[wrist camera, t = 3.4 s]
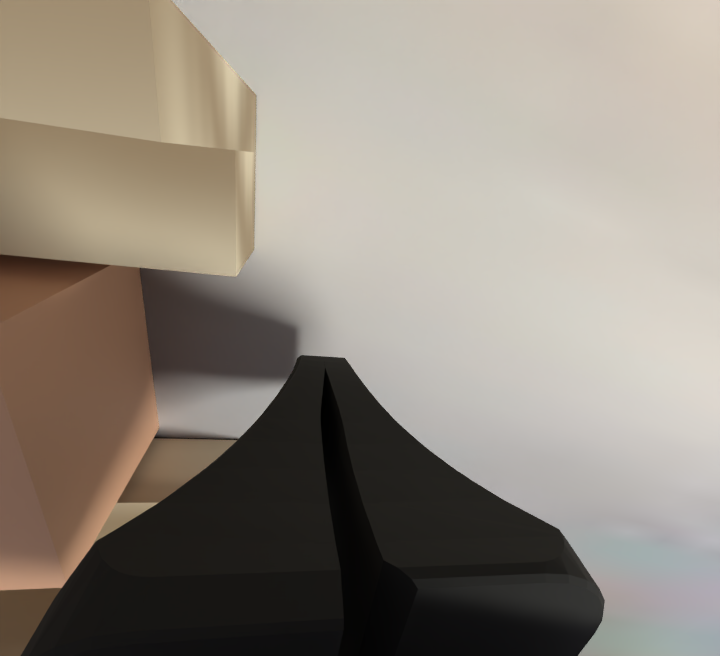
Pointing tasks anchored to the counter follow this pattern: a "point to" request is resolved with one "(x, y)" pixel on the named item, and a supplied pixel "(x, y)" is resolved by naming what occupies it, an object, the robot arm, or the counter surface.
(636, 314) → the counter surface
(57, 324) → the terracotta block
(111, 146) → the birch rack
